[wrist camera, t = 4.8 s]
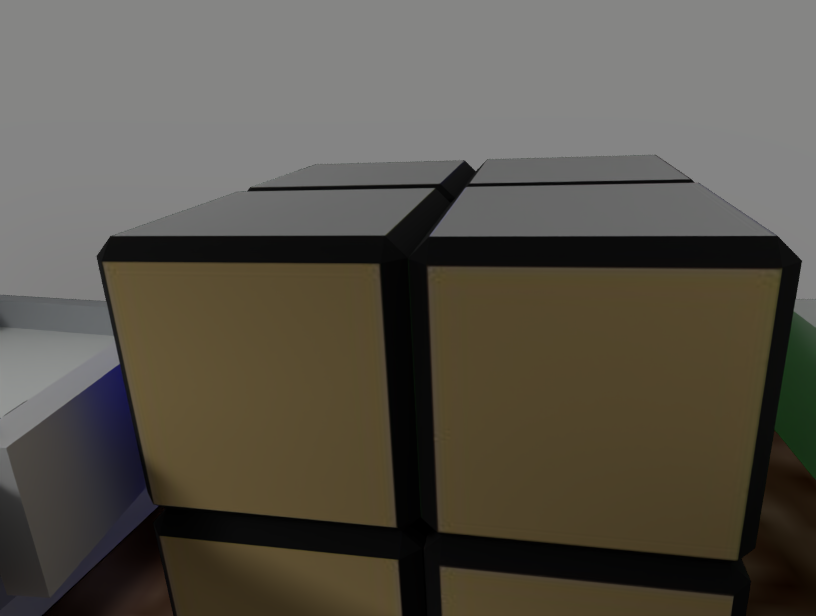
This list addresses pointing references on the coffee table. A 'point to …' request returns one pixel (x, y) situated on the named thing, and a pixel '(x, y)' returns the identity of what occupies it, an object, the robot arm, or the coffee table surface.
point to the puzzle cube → (455, 389)
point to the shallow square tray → (36, 370)
